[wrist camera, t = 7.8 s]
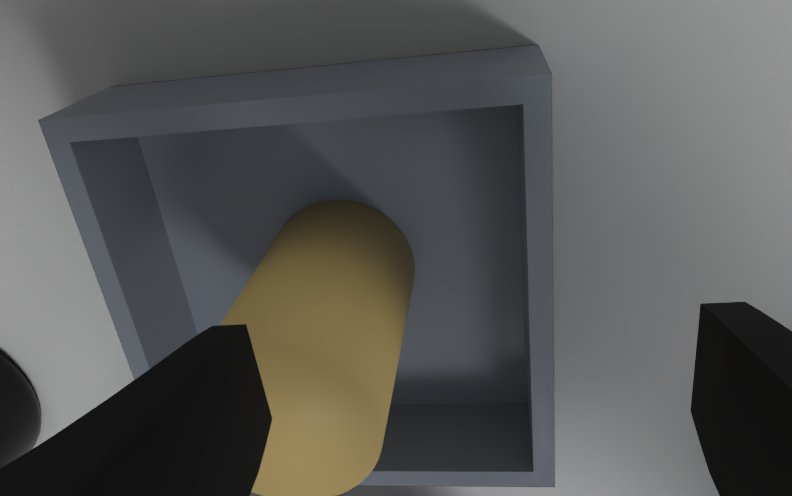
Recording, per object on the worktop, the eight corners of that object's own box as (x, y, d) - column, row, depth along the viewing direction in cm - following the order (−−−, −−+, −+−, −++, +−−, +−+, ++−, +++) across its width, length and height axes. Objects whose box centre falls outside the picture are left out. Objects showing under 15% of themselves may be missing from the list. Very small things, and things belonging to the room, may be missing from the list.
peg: (406, 195, 18) (367, 339, 12) (421, 323, 20) (394, 503, 14) (260, 204, 19) (152, 344, 13) (288, 327, 21) (207, 500, 15)
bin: (538, 44, 17) (551, 73, 13) (544, 406, 22) (554, 487, 19) (112, 86, 18) (37, 120, 15) (213, 410, 24) (173, 484, 21)
